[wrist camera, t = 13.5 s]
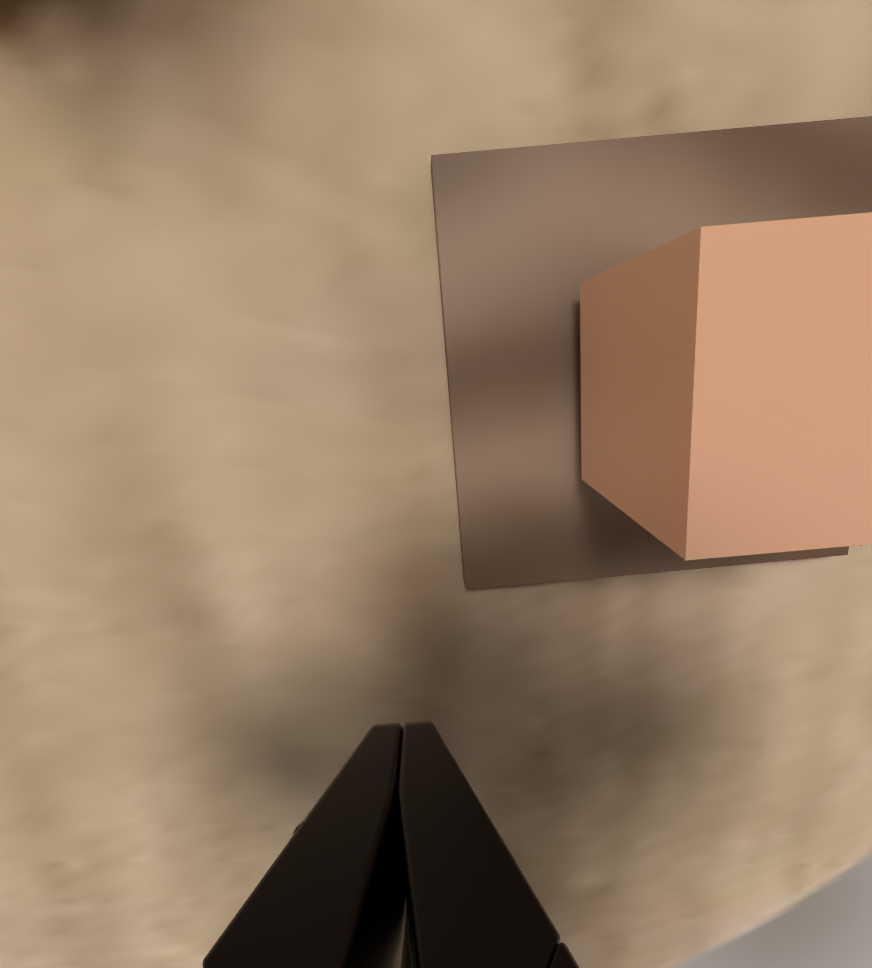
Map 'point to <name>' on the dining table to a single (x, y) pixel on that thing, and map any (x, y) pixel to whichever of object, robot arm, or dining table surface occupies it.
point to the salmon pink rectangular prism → (735, 387)
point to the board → (556, 316)
